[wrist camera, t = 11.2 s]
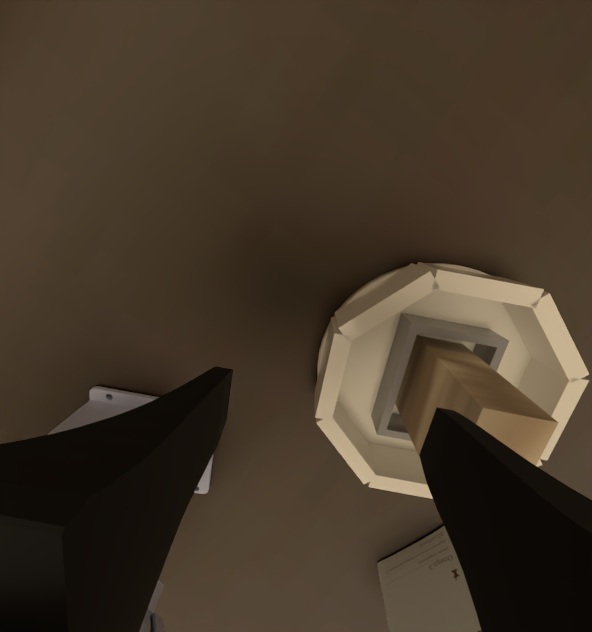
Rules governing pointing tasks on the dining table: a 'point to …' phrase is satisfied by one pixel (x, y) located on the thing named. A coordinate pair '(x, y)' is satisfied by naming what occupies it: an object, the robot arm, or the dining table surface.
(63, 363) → the dining table surface
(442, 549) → the supplement box
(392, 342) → the octagonal cream tray
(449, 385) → the tan wooden block
